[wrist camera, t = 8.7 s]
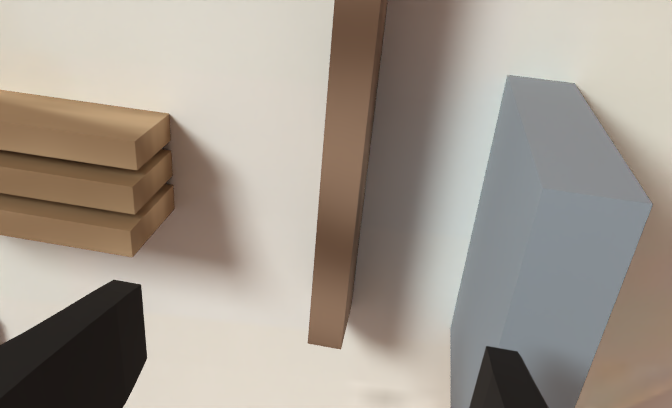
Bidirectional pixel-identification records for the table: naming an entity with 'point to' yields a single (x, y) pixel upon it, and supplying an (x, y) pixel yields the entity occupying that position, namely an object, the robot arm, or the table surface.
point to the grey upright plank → (545, 242)
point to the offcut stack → (83, 173)
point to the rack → (344, 163)
